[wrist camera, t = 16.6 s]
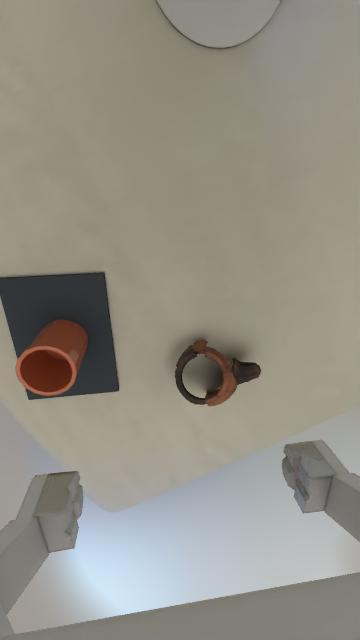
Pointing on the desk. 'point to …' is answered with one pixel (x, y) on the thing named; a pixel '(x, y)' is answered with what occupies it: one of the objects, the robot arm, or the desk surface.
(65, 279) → the mat
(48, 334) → the pot
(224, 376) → the dark brown domed piece
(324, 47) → the desk surface
